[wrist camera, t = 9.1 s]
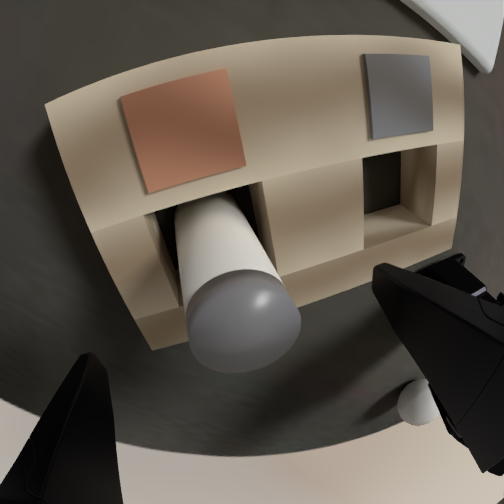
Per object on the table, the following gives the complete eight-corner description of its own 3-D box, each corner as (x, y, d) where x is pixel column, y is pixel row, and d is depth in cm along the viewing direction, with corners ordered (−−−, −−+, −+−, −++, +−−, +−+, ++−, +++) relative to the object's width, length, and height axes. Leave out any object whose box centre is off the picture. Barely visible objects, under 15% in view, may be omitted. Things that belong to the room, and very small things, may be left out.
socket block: (422, 226, 19) (453, 249, 17) (151, 311, 17) (152, 353, 15) (421, 42, 13) (463, 44, 10) (68, 98, 11) (42, 105, 8)
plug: (245, 237, 16) (304, 353, 10) (184, 254, 16) (207, 384, 9) (232, 178, 15) (295, 275, 8) (165, 197, 14) (172, 312, 8)
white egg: (380, 402, 32) (402, 439, 27) (410, 369, 30) (437, 406, 25) (414, 398, 35) (435, 428, 30) (442, 368, 33) (465, 399, 28)
